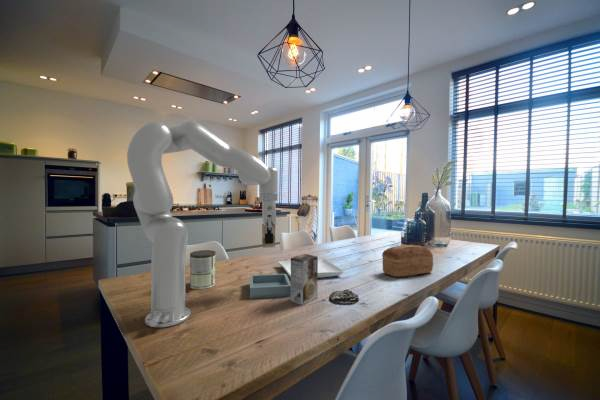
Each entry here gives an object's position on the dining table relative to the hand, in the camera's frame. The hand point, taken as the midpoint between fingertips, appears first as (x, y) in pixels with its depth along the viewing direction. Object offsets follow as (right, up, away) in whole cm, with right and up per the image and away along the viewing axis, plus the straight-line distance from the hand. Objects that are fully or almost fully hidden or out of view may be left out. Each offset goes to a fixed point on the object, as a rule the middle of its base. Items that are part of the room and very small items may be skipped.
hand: (268, 241), depth 106 cm
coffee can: (-29, -20, +5) cm, 35 cm away
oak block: (0, -2, 0) cm, 2 cm away
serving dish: (0, -20, 0) cm, 20 cm away
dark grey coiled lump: (+30, -21, -8) cm, 37 cm away
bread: (+69, -21, +27) cm, 77 cm away
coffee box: (+14, -21, -9) cm, 27 cm away
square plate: (+18, -21, +27) cm, 38 cm away
